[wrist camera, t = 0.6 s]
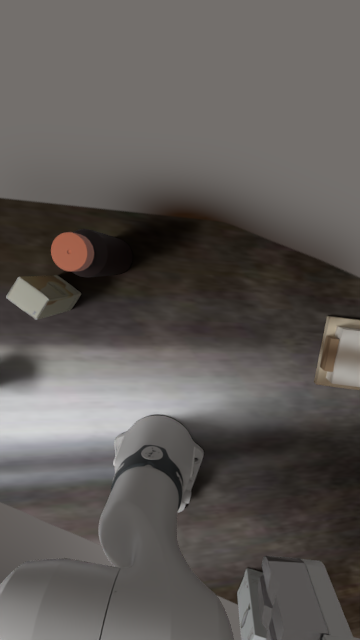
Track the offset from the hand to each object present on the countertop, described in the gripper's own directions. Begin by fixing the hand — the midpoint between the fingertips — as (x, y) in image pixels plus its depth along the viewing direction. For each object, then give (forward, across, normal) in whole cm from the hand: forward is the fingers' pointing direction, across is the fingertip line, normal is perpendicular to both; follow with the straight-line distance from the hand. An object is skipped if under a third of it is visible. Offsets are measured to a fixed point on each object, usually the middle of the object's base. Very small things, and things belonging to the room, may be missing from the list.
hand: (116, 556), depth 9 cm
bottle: (+53, -13, +3) cm, 54 cm away
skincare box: (+52, -23, -4) cm, 57 cm away
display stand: (+48, +34, -11) cm, 60 cm away
